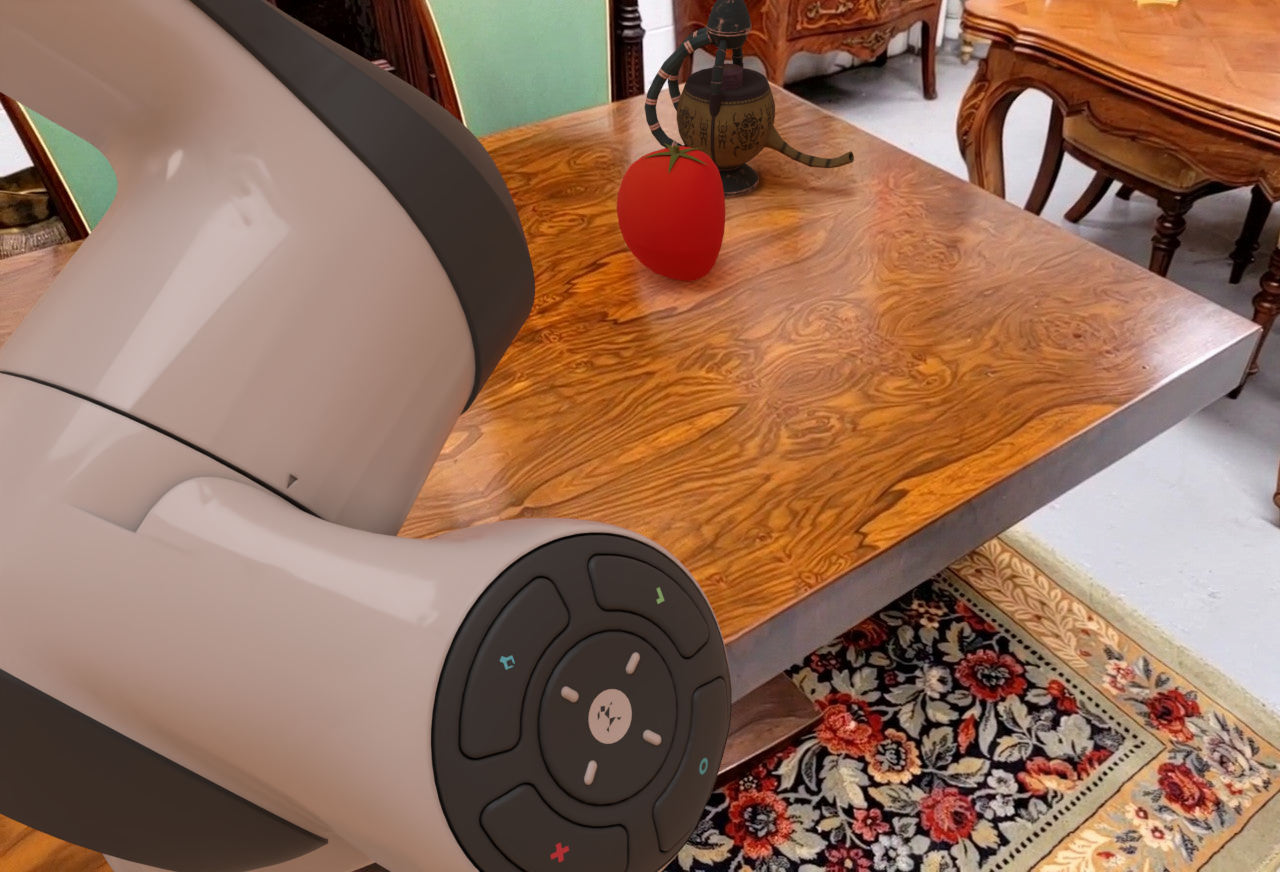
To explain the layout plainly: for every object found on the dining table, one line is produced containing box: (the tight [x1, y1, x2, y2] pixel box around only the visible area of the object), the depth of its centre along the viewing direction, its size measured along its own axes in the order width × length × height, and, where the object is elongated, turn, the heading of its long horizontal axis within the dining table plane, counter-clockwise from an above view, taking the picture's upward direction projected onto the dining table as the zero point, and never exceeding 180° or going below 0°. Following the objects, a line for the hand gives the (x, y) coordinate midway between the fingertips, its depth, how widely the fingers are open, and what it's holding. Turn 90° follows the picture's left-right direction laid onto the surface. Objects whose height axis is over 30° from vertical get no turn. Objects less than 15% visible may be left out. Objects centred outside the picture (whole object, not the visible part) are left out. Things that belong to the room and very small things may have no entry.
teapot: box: [644, 0, 855, 198], centre depth 111 cm, size 12×25×23 cm, turn 71°
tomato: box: [616, 143, 726, 282], centre depth 99 cm, size 13×11×14 cm
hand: (330, 681), depth 43 cm, fingers open, 8 cm apart
